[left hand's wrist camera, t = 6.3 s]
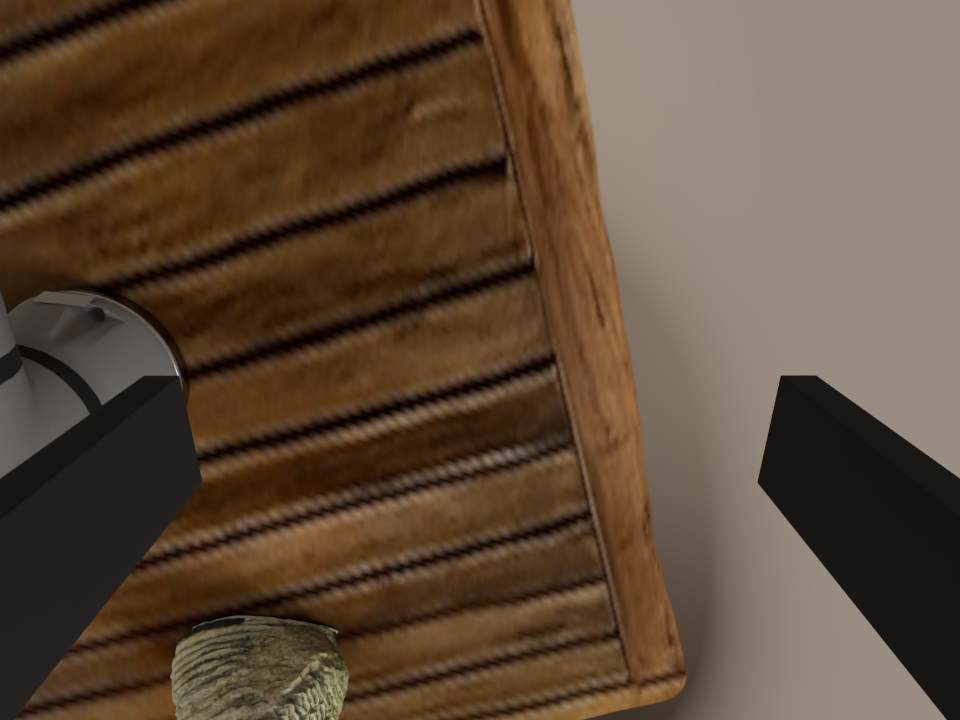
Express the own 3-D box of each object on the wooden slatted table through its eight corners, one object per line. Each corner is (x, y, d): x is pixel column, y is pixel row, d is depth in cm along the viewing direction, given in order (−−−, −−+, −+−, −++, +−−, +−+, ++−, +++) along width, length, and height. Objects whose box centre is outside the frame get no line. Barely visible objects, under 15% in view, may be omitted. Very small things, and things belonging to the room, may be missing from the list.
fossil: (366, 658, 62) (332, 811, 48) (206, 680, 63) (129, 835, 49) (344, 597, 58) (301, 741, 44) (176, 621, 60) (84, 770, 46)
